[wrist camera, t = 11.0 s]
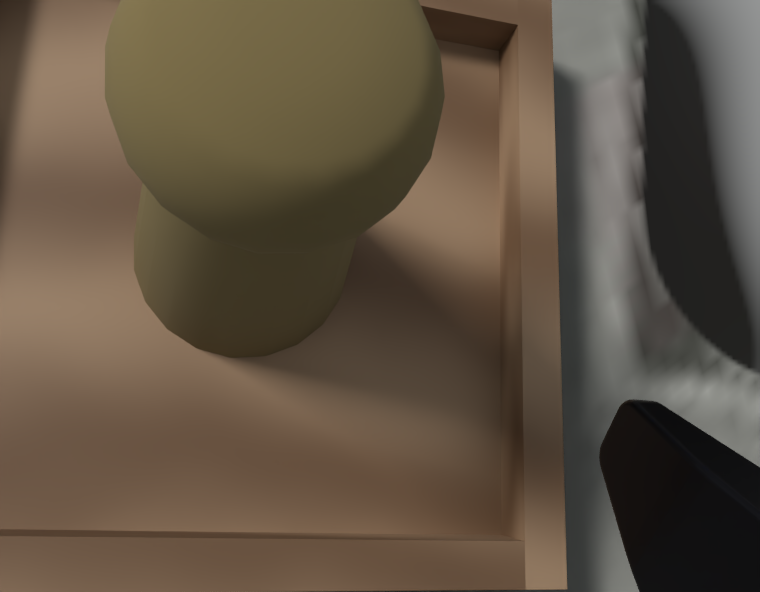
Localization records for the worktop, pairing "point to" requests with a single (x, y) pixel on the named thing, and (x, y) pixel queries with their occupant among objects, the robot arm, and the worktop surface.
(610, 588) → the worktop surface
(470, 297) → the walnut tray
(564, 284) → the worktop surface
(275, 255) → the cork
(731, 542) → the robot arm
